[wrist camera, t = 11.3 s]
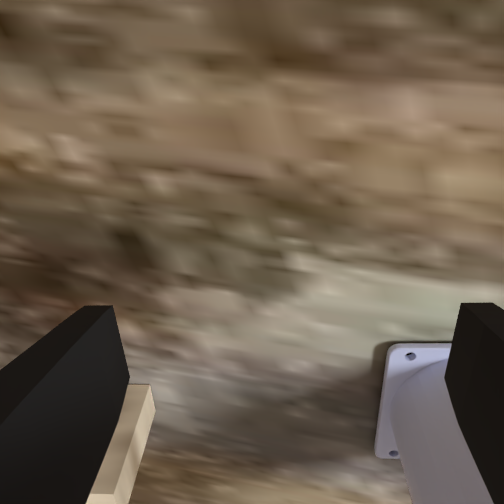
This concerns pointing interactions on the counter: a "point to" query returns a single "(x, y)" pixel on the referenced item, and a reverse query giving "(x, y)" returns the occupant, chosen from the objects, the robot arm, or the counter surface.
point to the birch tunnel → (125, 448)
